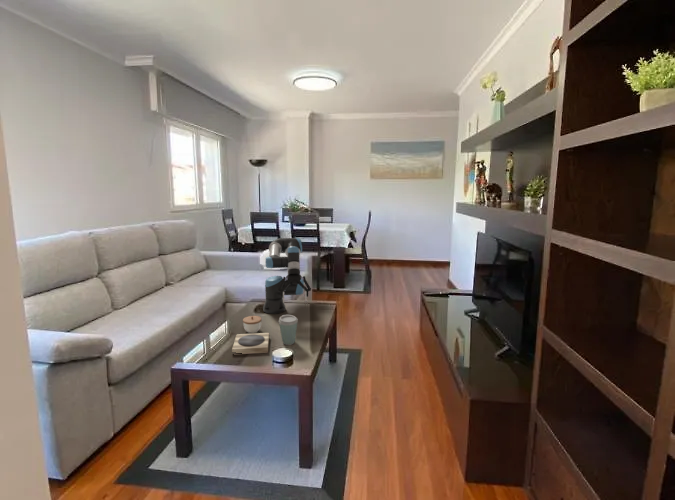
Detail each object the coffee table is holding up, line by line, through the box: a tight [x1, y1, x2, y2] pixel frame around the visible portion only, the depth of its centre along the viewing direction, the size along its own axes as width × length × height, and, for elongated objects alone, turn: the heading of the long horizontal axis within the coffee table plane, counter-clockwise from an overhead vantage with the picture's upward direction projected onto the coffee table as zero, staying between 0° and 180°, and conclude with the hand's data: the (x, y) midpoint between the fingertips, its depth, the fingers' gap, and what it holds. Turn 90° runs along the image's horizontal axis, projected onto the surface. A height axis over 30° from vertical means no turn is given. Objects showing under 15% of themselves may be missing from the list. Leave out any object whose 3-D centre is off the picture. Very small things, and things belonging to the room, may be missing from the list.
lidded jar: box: [242, 315, 262, 334], centre depth 213 cm, size 11×11×9 cm
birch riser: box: [231, 332, 270, 355], centre depth 195 cm, size 18×18×3 cm
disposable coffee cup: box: [278, 314, 299, 346], centre depth 198 cm, size 11×11×15 cm
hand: (294, 302), depth 220 cm, fingers open, 13 cm apart
